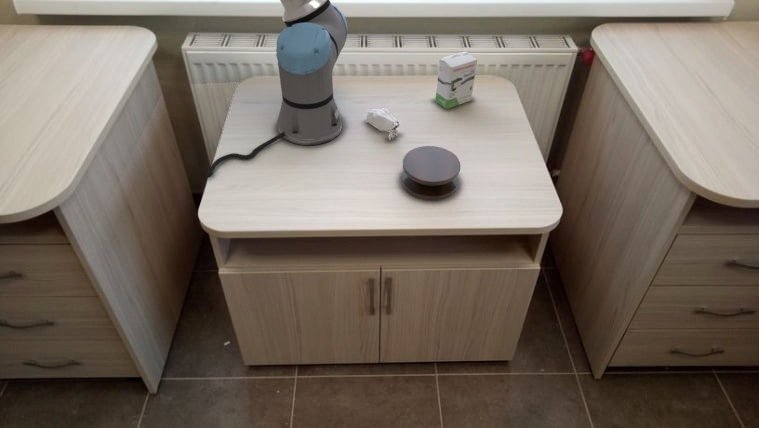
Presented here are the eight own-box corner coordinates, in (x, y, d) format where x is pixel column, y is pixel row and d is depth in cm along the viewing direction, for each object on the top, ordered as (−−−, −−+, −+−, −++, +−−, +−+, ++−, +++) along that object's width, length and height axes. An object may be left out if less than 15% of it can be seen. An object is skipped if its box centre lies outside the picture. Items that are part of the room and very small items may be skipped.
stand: (414, 206, 111) (416, 186, 107) (393, 171, 119) (394, 152, 115) (467, 193, 114) (470, 174, 110) (443, 160, 122) (445, 141, 118)
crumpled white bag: (404, 135, 131) (376, 110, 134) (406, 117, 125) (377, 92, 128) (389, 146, 129) (361, 120, 132) (390, 129, 123) (361, 102, 126)
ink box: (446, 109, 137) (451, 67, 129) (434, 100, 140) (438, 58, 132) (472, 100, 140) (478, 58, 132) (460, 91, 143) (465, 50, 135)
